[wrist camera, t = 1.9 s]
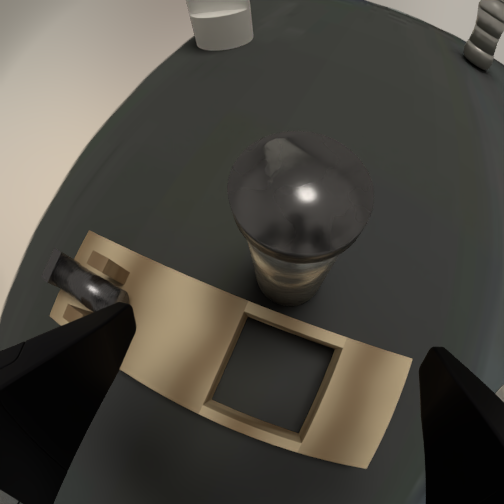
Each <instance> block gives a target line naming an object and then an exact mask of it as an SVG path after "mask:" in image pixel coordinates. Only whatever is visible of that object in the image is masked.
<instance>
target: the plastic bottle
mask: <svg viewBox="0 0 504 504" xmlns="http://www.w3.org/2000/svg"><path fill="white" fill-rule="evenodd" d="M503 31H504V0H481V1H480V2H479V7H478V15H477V20H476V25H475V28H474V30H473V32H472V34H471V36H470V39H469V40H468V41H467V42H466V44H465V46H464V55H465V57H466V58H467V59H468V60H469V61H470V62H471V63H473V64H474V65H475V66H477V67H479V68H481V69H483V70H487V69H489V68H490V66H491V65H492V62H493V55H494V52H495V49H496V46H497V43H498V41H499V38H500V37H501V34H502V33H503Z"/></svg>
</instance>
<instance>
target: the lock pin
mask: <svg viewBox="0 0 504 504" xmlns="http://www.w3.org/2000/svg"><path fill="white" fill-rule="evenodd" d="M41 278H43V279H44V280H45V281H46V282H48V283H50V284H52V285H54V286H57V287H59V288H60V289H62V290H63V291H64V292H66V293H67V294H68V295H70V296H71V297H73V298H74V299H75V300H77V301H78V302H80V303H81V304H82V305H84V306H85V307H87V308H88V309H90V310H91V311H92V312H96V311H98V310H100V309H103V308H105V307H108V306H110V305H112V304H115V303H117V302H124V303H127V304H129V295H128V293H127V292H126V291H125V290H123V289H121V288H119V287H118V286H116V285H114V284H112V283H111V282H109V281H107V280H105V279H104V278H102V277H100V276H99V275H97V274H95V273H93V272H92V271H90V270H88V269H87V268H85V267H84V266H82V265H80V263H79V262H77V261H76V260H74V259H72V258H71V257H69V256H67V255H66V254H64V253H62V252H61V251H59V250H57V249H56V248H54V250H53V252H52V254H51V256H50V258H49V260H48V263H47V265H46V267H45V269H44V271H43V274H42V276H41Z"/></svg>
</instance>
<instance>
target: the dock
mask: <svg viewBox="0 0 504 504" xmlns="http://www.w3.org/2000/svg"><path fill="white" fill-rule="evenodd" d="M74 260H76V261H77V262H79V263H80V265H82V266H84V267H85V268H87V269H88V270H90V271H92V272H93V273H95V274H97V275H99V276H100V277H102V278H104V279H105V280H107V281H109V282H111V283H112V284H114V285H116V286H118V287H119V288H121V289H123V290H125V291H126V292H127V293H128V295H129V304H130V305H131V306H132V307H133V312H134V316H135V321H136V333H135V335H134V337H133V339H132V342H131V344H130V346H129V349H128V351H127V353H126V356H125V358H124V360H123V363H122V365H121V367H120V370H122V371H123V372H125V373H126V374H128V375H129V376H131V377H133V378H134V379H136V380H137V381H139V382H141V383H142V384H144V385H146V386H147V387H149V388H151V389H152V390H154V391H156V392H158V393H159V394H161V395H163V396H165V397H167V398H168V399H170V400H172V401H174V402H176V403H178V404H180V405H181V406H183V407H185V408H187V409H189V410H191V411H193V412H195V413H197V414H199V415H202V416H204V417H206V418H208V419H210V420H212V421H214V422H217V423H219V424H221V425H223V426H226V427H228V428H230V429H233V430H235V431H238V432H240V433H243V434H245V435H248V436H250V437H253V438H256V439H258V440H261V441H264V442H267V443H269V444H272V445H275V446H278V447H281V448H284V449H287V450H291V451H294V452H297V453H301V454H304V455H308V456H311V457H315V458H319V459H323V460H327V461H331V462H335V463H340V464H344V465H349V466H354V467H359V468H365V469H367V467H368V465H369V463H370V461H371V459H372V457H373V456H374V454H375V452H376V450H377V448H378V446H379V443H380V441H381V439H382V437H383V435H384V433H385V431H386V428H387V426H388V424H389V422H390V419H391V417H392V415H393V412H394V410H395V407H396V405H397V402H398V400H399V397H400V394H401V392H402V389H403V386H404V384H405V381H406V378H407V375H408V372H409V369H410V366H411V363H412V359H411V358H408V357H405V356H402V355H399V354H395V353H392V352H389V351H386V350H383V349H380V348H377V347H374V346H371V345H368V344H365V343H362V342H359V341H356V340H353V339H350V338H347V337H344V336H341V335H338V334H335V333H333V332H330V331H327V330H324V329H321V328H319V327H316V326H313V325H310V324H308V323H305V322H302V321H299V320H297V319H294V318H291V317H289V316H286V315H283V314H281V313H278V312H276V311H273V310H270V309H268V308H265V307H263V306H260V305H257V304H255V303H252V302H250V301H247V300H245V299H242V298H240V297H237V296H235V295H232V294H230V293H228V292H225V291H223V290H220V289H218V288H215V287H213V286H211V285H208V284H206V283H203V282H201V281H199V280H196V279H194V278H192V277H189V276H187V275H185V274H182V273H180V272H178V271H176V270H173V269H171V268H169V267H166V266H164V265H162V264H160V263H157V262H155V261H153V260H151V259H149V258H146V257H144V256H142V255H140V254H138V253H136V252H133V251H131V250H129V249H127V248H125V247H123V246H121V245H118V244H116V243H114V242H112V241H110V240H108V239H106V238H104V237H102V236H100V235H98V234H95V233H93V232H91V231H89V232H88V234H87V235H86V237H85V239H84V241H83V243H82V245H81V247H80V249H79V251H78V253H77V255H76V257H75V259H74ZM91 313H93V312H92V311H91V310H90V309H88V308H87V307H85V306H84V305H82V304H81V303H80V302H78V301H77V300H75V299H74V298H73V297H71V296H70V295H68V294H67V293H66V292H64V291H63V290H62V289H60V291H59V294H58V296H57V298H56V301H55V303H54V306H53V308H52V311H51V313H50V316H51V317H52V318H53V319H54V320H55V321H56V322H57V323H59V324H60V325H61V326H62V325H64V324H67V323H69V322H72V321H74V320H76V319H79V318H81V317H84V316H86V315H88V314H91ZM247 317H250V318H253V319H255V320H258V321H260V322H263V323H265V324H268V325H270V326H273V327H276V328H278V329H281V330H284V331H286V332H289V333H291V334H294V335H297V336H300V337H302V338H305V339H308V340H311V341H313V342H316V343H319V344H322V345H325V346H327V347H330V348H333V349H335V350H334V353H333V355H332V358H331V361H330V363H329V366H328V368H327V371H326V373H325V376H324V378H323V381H322V383H321V385H320V388H319V390H318V392H317V395H316V397H315V399H314V402H313V404H312V406H311V408H310V410H309V413H308V415H307V417H306V419H305V421H304V423H303V425H302V428H301V430H300V432H299V433H296V432H293V431H290V430H287V429H284V428H281V427H278V426H276V425H273V424H270V423H267V422H265V421H262V420H259V419H257V418H254V417H251V416H249V415H246V414H244V413H241V412H239V411H237V410H234V409H232V408H230V407H227V406H225V405H223V404H220V403H218V402H216V401H214V400H212V397H213V395H214V393H215V390H216V388H217V386H218V384H219V381H220V379H221V377H222V375H223V372H224V370H225V368H226V366H227V363H228V361H229V359H230V357H231V354H232V352H233V350H234V347H235V345H236V343H237V340H238V338H239V336H240V334H241V331H242V329H243V327H244V324H245V322H246V320H247Z"/></svg>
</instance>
